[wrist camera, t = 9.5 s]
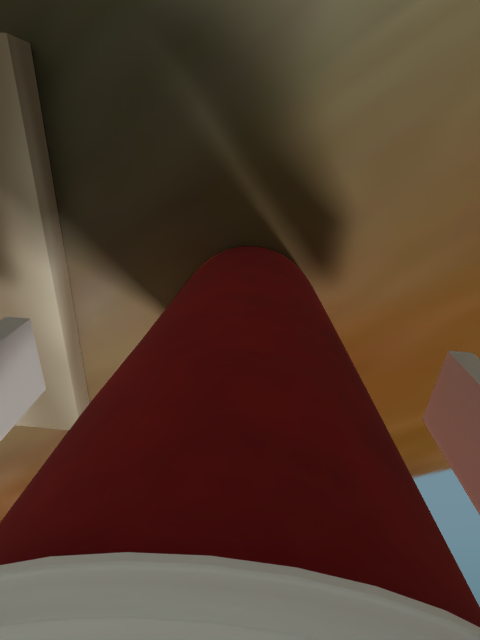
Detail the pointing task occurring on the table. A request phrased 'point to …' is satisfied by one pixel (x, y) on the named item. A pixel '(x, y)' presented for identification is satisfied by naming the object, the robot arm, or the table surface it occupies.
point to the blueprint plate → (35, 244)
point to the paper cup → (231, 489)
